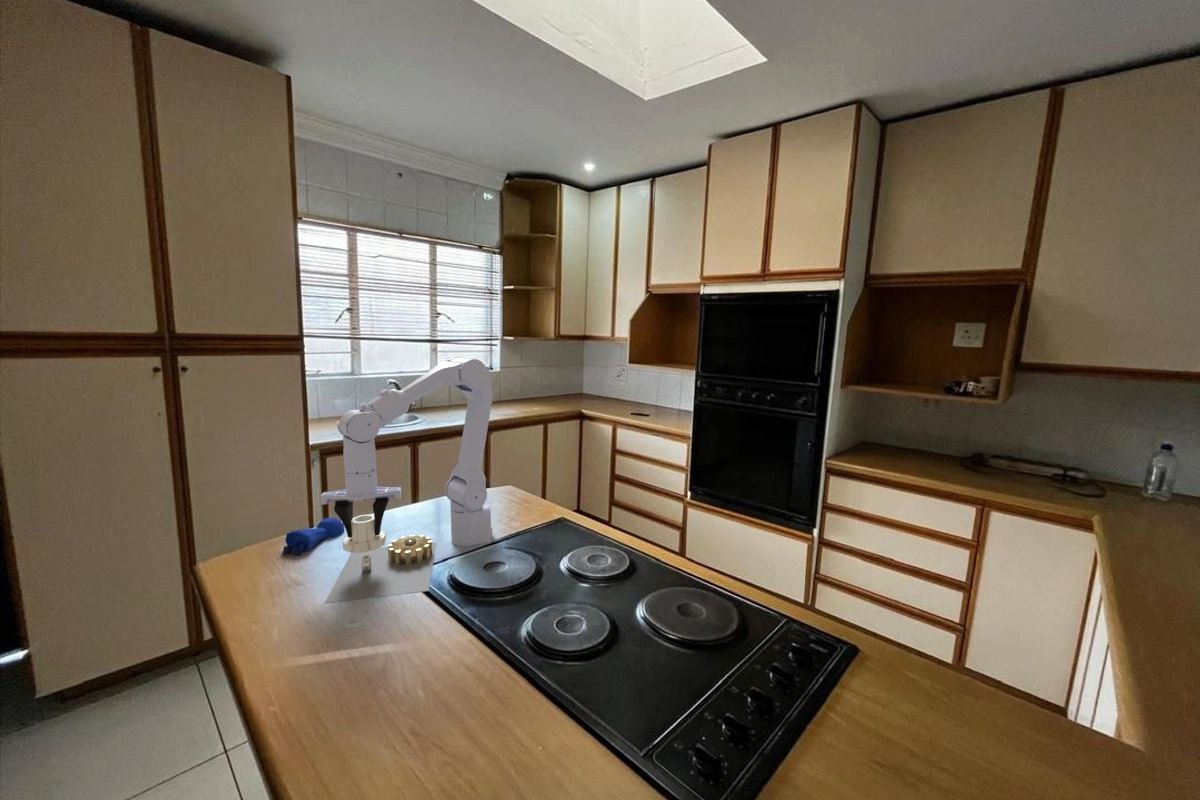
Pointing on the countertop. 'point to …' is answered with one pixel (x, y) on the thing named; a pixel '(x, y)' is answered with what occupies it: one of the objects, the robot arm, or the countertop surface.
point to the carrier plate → (380, 577)
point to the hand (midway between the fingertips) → (364, 534)
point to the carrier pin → (366, 564)
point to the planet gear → (363, 535)
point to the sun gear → (410, 550)
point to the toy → (312, 536)
